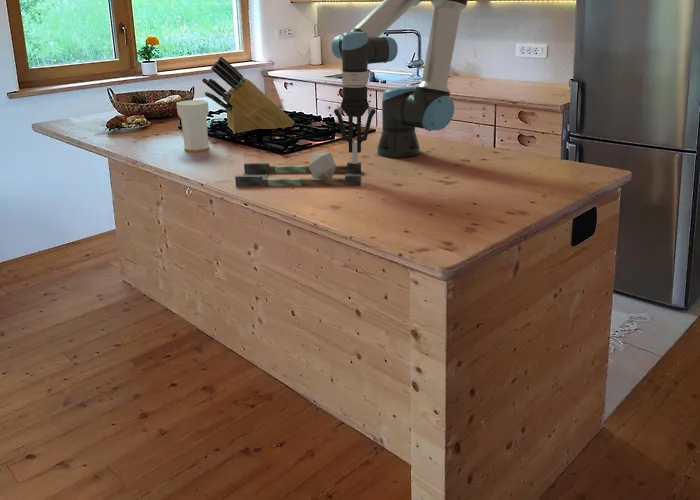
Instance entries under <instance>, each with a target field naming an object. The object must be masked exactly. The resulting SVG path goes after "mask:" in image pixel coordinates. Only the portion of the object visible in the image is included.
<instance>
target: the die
mask: <svg viewBox="0 0 700 500" xmlns="http://www.w3.org/2000/svg"><path fill="white" fill-rule="evenodd" d="M307 166H309V168H310V171H311V175H312V178H333V176H334V174H335V173H334V171H335V168H336V162H335V160H334V158H333V155H332V153H331V152H313V154H312V156H311V159H310V161H309V163H308V165H307Z"/></svg>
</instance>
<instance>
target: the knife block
mask: <svg viewBox="0 0 700 500" xmlns="http://www.w3.org/2000/svg"><path fill="white" fill-rule="evenodd" d="M210 69H211V70H212V71H213V72H214V73H215V74H216V75H217V76H218V77H219V78H220V79H222V80H223V81H224V82H225V83H226V84H227V85H229V86H230V88H229V90H226V89H225V88H224V87H222V85H220V84H219V83H218V82H217V81H216V80H215V79H212V78H209V79H206V78H205V77H203V78H202V79H201V81H202V83H204V84H205V85H206V86H207V87H208V88H209V89H211V90H212V91H213V92H215V93H216V94H217V95H218V96H220V97H222V99H220V98H219V97H217V96H216V95H215V94H213V93H211V92H208V91H207V92H204V95H205V97H207V98H209V99H211V100H212V101H213V102H215V103H216V104H217V105H219V106H220V107H222V108H224V109H226V118H227V127H229V128H230V129H231V130H232V131H233V134H234V135H235V134H236V133H241V132H245V131H250V130H255V129H277V128H286V127H291V128H292V127H293V126H294V124H295V121H294V120H293V119H292V118H291V117H290V116H289V115H288V114H287V113H286V112H284V111H283V110H282V109H281V108H280V107H279V106H278V105H277V104H276V103H275V102H274V101H273V100H272V99H270V98H269V97H268V96H267V95H266V94H265V93H264V92H263V91H261V89H260V88H258V87H257V86H256V85H255V84H254V83H253V82H252V81H251V80H249V79H248V78H245V77H244V76H243V75H242V73H240V72H239V70H238V69H236V68H235V67H234V66H233V65H232V64H231V63H229V61H227V60H226V59H225V58H224V57H222V56H220V57H219V58H218V59H217V61H215V63H214V64H213V65H212V66H211V67H210Z"/></svg>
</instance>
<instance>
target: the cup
mask: <svg viewBox="0 0 700 500" xmlns="http://www.w3.org/2000/svg"><path fill="white" fill-rule="evenodd" d="M176 110H177V111H176V112H177V116H178V117H179V118H180V121H181V129H182V136H183V143H184V144H183V145H184V146H183V147H184V148H183V149H184V151H185V152H188V153H201V152H206V151H208V150H210V145H209V139H208V136H209V135H208V122H207V121H208V120H207V117H208V115H209V113H210V111H209V102H208V100H204V99H203V100H202V99H190V100H189V99H188V100H181V101H178V102H176Z"/></svg>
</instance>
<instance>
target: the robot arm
mask: <svg viewBox="0 0 700 500" xmlns="http://www.w3.org/2000/svg"><path fill="white" fill-rule="evenodd" d="M423 1H424V0H382V2H381V3H379V4H378V5H377V6H376V7H375V8H374V9H372V11H370V13H368V14H367V16H365V17H364V18H363V19H362V20H361V21H360V22H359V23H358V24H356V25H355V26H354V27H353V28H352V29H351V30H350V31H346V32H344V33H343V34H339V35H336V36H335V37H334V38H333V40H332V41H331V51H332V54H333V56H334V57H335V58H336V59H339V60H341V61H342V62H341V64H342V67H341V69H342V71H341V73H342V75H341V77H342V79H341V81H342V85H343V87H342V91H341V92H342V94H341V95H342V100H341V101H342V102H341V103H340V106H338V107H337V108H335V109H334V110H333V114H335V116H336V117H337V121H338V126H339V129H340V134H341V136H342V141H344V142H348V153H349V154H350V153H352V154H351V155H352V156H351V158H352V161H351V162H352V164H357V162H358V153H359V154H360V153H361V152H362V142H365V141H367V140H368V136H369V132H370V128H371V125H372V119H373V117H374V115H375V114H376V112H377V111H376V108H374V107H372V106H370V103H369V102H368V87H367V85H368V71H369V70H368V67H369V65H371V64H381V63H383V64H386V63H390V62H392V61H394V60H395V59H396V58H397V57H398V52H399V49H398V48H399V47H398V43H397V41H396V40H395V39H394V38H392V36H391V37H390V36H382V35H383V34H384V33H385V32H386V31H387V30H388V29H389V28H390V27H391V26H392V25H393V24H394V23H396V22H397V21H398V19H400V18H401V17H402V16H403V15H404V14H405V13H406V12H407V11H408V10H410V8H411V7H416V6H419V4H420V3H421V2H423ZM430 3H431V4H432V6H433V8H434V11H433V15H432V20H431V27H430V32H429V38H428V43H427V44H428V45H427V49H426V54H425V60H424V67H423V72H422V78H421V82H420V83H418V84H417V85H415V86H402V87H394V88H387V89H385V90H384V91H383V92H382V100H381V107H382V109H381V112H382V114H381V115H382V116H381V117H382V119H381V120H382V121H381V123H382V124H381V125H382V126H381V127H382V132H381V134H380V138H379V141H378V145H377V154H378V155H380V156H382V157H386V158H397V159H398V158H401V159H403V158H410V157H411V158H412V157H415V156H418V155H419V154H421V153H420V152H421V151H420V150H421V149H420V143H419V140H418V137H417V134H416V128H418V129H423V130H427V131H441V130H443V129H445V128H446V127H447V126H449V124H450V123H451V121H452V119H453V117H454V113H455V104H454V100H453V98H452V97H450V96H451V90H450V89H449V88H448V82H449V76H450V71H451V67H452V66H451V64H452V60H453V53H454V49H455V44H456V43H455V42H456V38H457V33H458V29H459V28H458V27H459V22H460V17H461V12H462V11H464V10H465V9H466V8H467V5H468V0H431V1H430ZM366 112H367V114H368V116H367V120H366V123H365V127H364V132H363V135H362V117H363V115H364V114H365V113H366ZM342 113H344V114H345V115H346V116H347V117H348V135H347V132H346V131H347V130H346V128H345V123H344V119H343V116H342ZM353 118H356V140H353V137H354V136H353V132H354V119H353Z"/></svg>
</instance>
